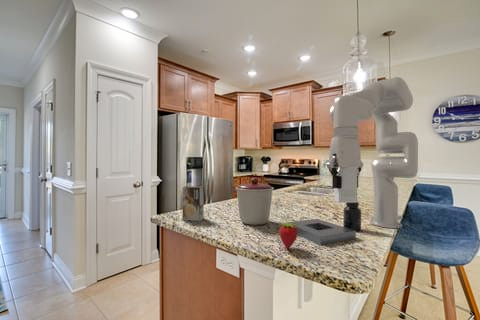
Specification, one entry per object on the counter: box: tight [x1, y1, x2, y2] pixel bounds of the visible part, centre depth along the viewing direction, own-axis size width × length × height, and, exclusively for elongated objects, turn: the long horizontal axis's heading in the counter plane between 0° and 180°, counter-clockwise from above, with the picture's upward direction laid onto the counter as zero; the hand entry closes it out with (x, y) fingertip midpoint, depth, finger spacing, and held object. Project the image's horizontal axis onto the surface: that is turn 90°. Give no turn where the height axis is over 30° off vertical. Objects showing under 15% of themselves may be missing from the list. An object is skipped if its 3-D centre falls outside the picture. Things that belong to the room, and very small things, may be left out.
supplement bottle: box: [342, 201, 362, 232], centre depth 100 cm, size 7×7×12 cm
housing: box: [286, 218, 357, 246], centre depth 93 cm, size 18×20×3 cm
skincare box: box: [333, 166, 358, 204], centre depth 77 cm, size 6×4×12 cm
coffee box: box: [182, 185, 205, 222], centre depth 115 cm, size 9×6×16 cm
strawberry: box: [278, 219, 298, 250], centre depth 77 cm, size 6×8×10 cm
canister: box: [235, 177, 275, 226], centre depth 110 cm, size 18×18×21 cm
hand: (345, 187), depth 77 cm, fingers closed on skincare box, 7 cm apart
